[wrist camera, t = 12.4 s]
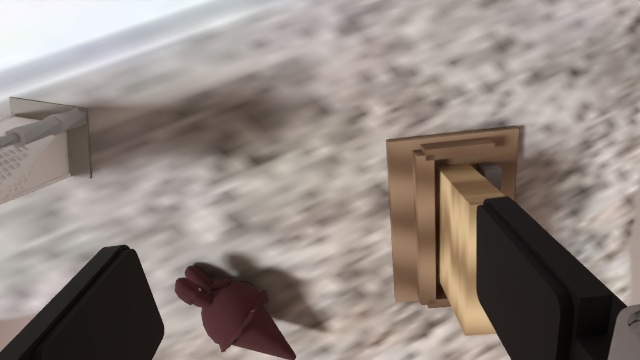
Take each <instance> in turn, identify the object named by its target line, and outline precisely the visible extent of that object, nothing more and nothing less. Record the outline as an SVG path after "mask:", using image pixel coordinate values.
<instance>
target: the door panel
mask: <svg viewBox="0 0 640 360" xmlns="http://www.w3.org/2000/svg"><path fill="white" fill-rule="evenodd" d="M504 196H505V195H504V194H503V193H502V192H500V191H499V190H498V189H497V188H496V187H495V186H494V185H492V184H491V183H490V182H489V181H488V180H487V179H486V178H484V177H483V176H482V175H481V174H480V173H479V172H478V171H476V170H475V169H474V168H473V167H472V166H471V165H470V164H460V165H449V166H438V167H437V208H436V275H437V277H438V279H439V281H440V283H441V285H442V288H443V290H444V292H445V294H446V296H447V298H448V300H449V302H450V304H451V306H452V309H453V311H454V313H455V315H456V317H457V319H458V321H459V323H460V325H461V327H462V330H463V332H464V334H465V336H469V335H482V334H496V331H495V329H494V328H493V326H492V324H491V322H490V320H489V319H488V317H487V315H486V313H485V312H484V310H483V308H482V306H481V304H480V302H479V300H478V296H477V291H476V211H477V206H478V205H483V202H484V200H485V199H488V198H496V197H504Z"/></svg>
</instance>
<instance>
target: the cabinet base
mask: <svg viewBox="0 0 640 360" xmlns="http://www.w3.org/2000/svg"><path fill="white" fill-rule="evenodd" d="M518 138H519V128H517V127H515V126H511V127H502V128H493V129H483V130H474V131H464V132H455V133H446V134H436V135H427V136H417V137H408V138H399V139H389V140H386V147H387V165H388V183H389V201H390V220H391V238H392V256H393V274H394V292H395V299H396V302H407V301H419V300H420V303H421V305H428V308H438V307H450V306H451V304H450V302H449V300H448V298H447V296H446V294H445V292H444V290H443V288H442V285H441V283H440V281H439V279H438V277H437V275H436V208H437V167H438V166H449V165H460V164H470V165H471V166H472V167H473V168H474V169H475V170H476V171H478V172H479V173H480V174H481V175H482V176H483V177H484V178H486V179H487V180H488V181H489V182H490V183H491V184H492V185H494V186H495V187H496V188H497V189H498V190H499V191H500V192H502V193H503V194H504V195H505V196H509V197H510V198H511V199H512V200H514V199H515V184H516V168H517V153H518Z"/></svg>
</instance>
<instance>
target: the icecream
mask: <svg viewBox="0 0 640 360" xmlns="http://www.w3.org/2000/svg"><path fill="white" fill-rule="evenodd" d="M185 276H186V278H178V279H177V280H176V284H175V292H176V294H177V296H178V297H179V298H180V299H181V300H183V301H184V302H185V303H187V304H189V305H192V304H194V305H196V306H198V307H202V311H201V316H202V321H203V326H204V328H205V330H206V332H207V334H208V336H210V337H211V338H212V339H213V341H214V342H215V343H217V344H219V345H220V348H221V352H225V351H226V349H228V348H229V347H230V346H231V345H234V346H238V347H242V348H246V349H250V350H254V351H257V352H261V353H265V354H269V355H273V356H277V357H281V358H284V359H288V360H295V358H296V355H295V353H294V351H293V350H292V348H291V347H290V346H289V344H288V343H287V341H286V340H285V338H284V336H283V335H282V333H281V332H280V330H279V329H278V327H277V326H276V324H275V323H274V321H273V319H272V318H271V316H270V315H269V313H268V312H267V310H266V309H265V307H264V306H263V305H264V304H266V302H267V301H268V297H267V295H266V291H261V292H259V291H258V290H257V288H255V287H252V286H250V285H249V284H248V283H247V282H244V281H241V282H238V281H230V280H229V279H227V278H225V279H220V280H217V281H216V282H213V280H212V279H211V278H210V277H209V276H208V275H206V274H205V273H204V272H203V271H201V270H200V269H198V268H197V267H194V266H188V267H187V269H186V270H185Z"/></svg>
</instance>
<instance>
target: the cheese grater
mask: <svg viewBox="0 0 640 360" xmlns="http://www.w3.org/2000/svg"><path fill="white" fill-rule="evenodd" d="M9 99H10V107H11V115H8V116H5V117H2V118H0V204H3V203H6V202H8V201H11V200H13V199H16V198H18V197H21V196H23V195H26V194H29V193H31V192H34V191H36V190H39V189H41V188H44V187H46V186H48V185H51V184H53V183H56V182H58V181H61V180H63V179H66V178H68V177H71V176H75V177H82V178H89V179H91V166H90V148H89V130H88V112H87V108H80V107H73V106H66V105H60V104H53V103H46V102H39V101H33V100H26V99H19V98H12V97H9Z"/></svg>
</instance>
